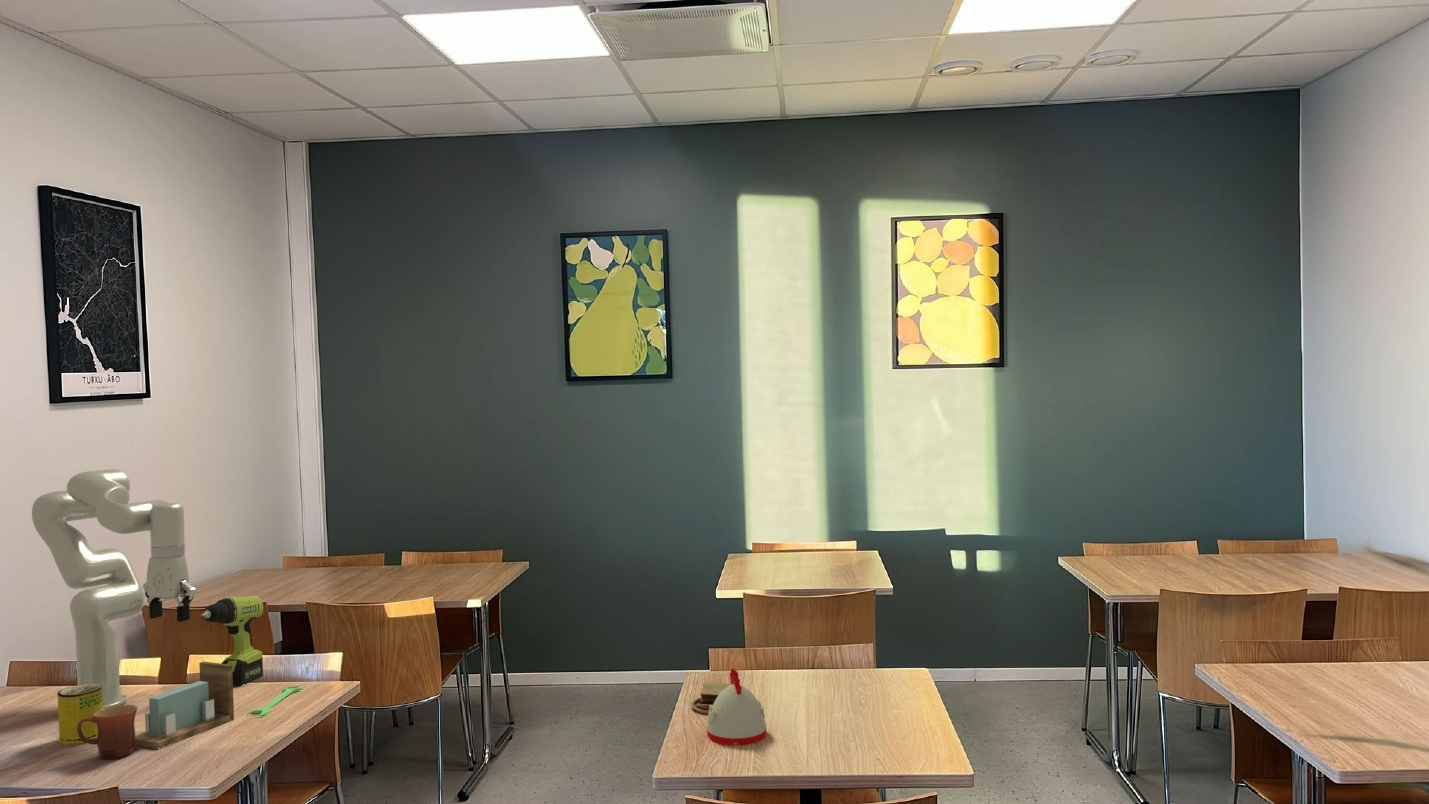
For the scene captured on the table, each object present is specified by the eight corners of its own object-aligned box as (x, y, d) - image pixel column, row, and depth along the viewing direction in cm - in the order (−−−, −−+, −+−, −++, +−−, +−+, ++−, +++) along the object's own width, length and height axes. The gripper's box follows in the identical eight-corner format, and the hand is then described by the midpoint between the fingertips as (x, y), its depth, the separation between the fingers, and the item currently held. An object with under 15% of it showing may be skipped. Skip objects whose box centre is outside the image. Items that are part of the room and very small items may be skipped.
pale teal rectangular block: (159, 736, 233) (158, 699, 233) (150, 735, 235) (149, 698, 234) (209, 717, 246) (208, 682, 246) (200, 716, 248) (199, 681, 247)
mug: (141, 745, 232) (140, 702, 232) (136, 758, 224) (134, 713, 224) (82, 754, 228) (80, 710, 227) (74, 767, 220) (72, 721, 219)
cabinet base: (159, 749, 229) (156, 689, 229) (128, 744, 233) (126, 685, 233) (234, 719, 249) (232, 664, 249) (205, 715, 253) (203, 661, 252)
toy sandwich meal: (684, 714, 246) (683, 695, 246) (700, 697, 259) (700, 679, 259) (731, 718, 243) (731, 699, 243) (746, 701, 256) (746, 683, 255)
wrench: (243, 722, 250) (264, 722, 250) (243, 715, 250) (263, 714, 250) (287, 689, 275) (306, 689, 275) (287, 682, 275) (306, 682, 275)
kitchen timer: (757, 722, 239) (756, 661, 239) (773, 742, 226) (771, 677, 225) (702, 727, 236) (700, 665, 236) (714, 748, 223) (712, 682, 222)
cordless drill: (215, 698, 267) (212, 607, 266) (192, 697, 268) (189, 606, 267) (268, 673, 289) (265, 589, 289) (247, 672, 291) (244, 588, 290)
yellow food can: (110, 730, 243) (108, 682, 243) (93, 743, 234) (91, 693, 234) (70, 733, 242) (68, 685, 241) (52, 746, 233) (50, 696, 232)
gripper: (130, 552, 248) (132, 619, 249) (179, 556, 242) (181, 625, 242) (157, 547, 255) (158, 613, 256) (205, 551, 249) (207, 618, 249)
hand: (169, 619), depth 249 cm, fingers open, 9 cm apart
